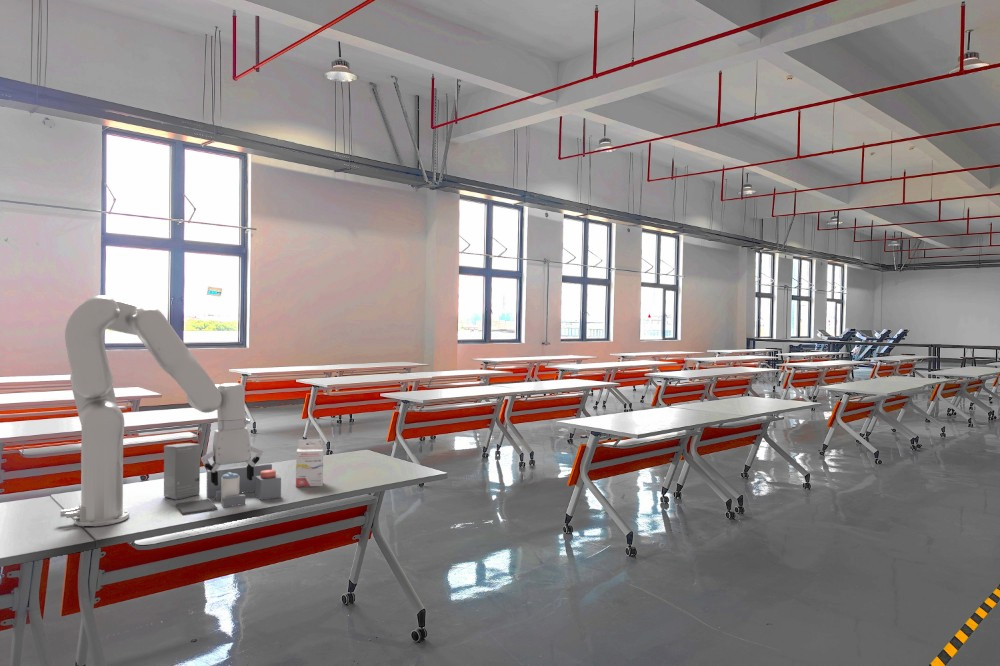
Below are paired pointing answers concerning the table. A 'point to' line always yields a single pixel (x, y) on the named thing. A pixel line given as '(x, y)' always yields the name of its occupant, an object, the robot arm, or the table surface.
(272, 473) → the plunger
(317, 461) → the ink cartridge box
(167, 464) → the skincare box
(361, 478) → the table surface
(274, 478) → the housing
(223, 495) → the block
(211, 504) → the mat
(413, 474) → the table surface
